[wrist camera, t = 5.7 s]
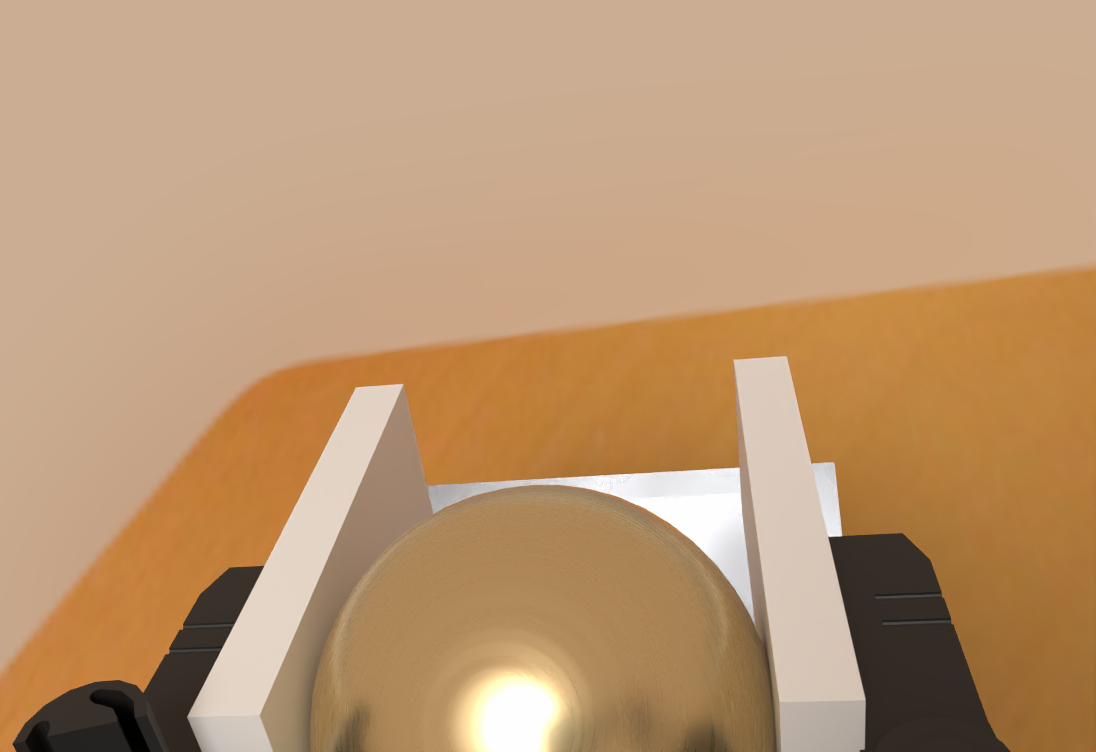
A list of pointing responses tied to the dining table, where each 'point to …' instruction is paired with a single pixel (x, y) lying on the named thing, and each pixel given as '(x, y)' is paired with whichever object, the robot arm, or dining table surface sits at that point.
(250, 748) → the robot arm
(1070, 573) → the dining table surface
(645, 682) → the plunger
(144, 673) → the dining table surface
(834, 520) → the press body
